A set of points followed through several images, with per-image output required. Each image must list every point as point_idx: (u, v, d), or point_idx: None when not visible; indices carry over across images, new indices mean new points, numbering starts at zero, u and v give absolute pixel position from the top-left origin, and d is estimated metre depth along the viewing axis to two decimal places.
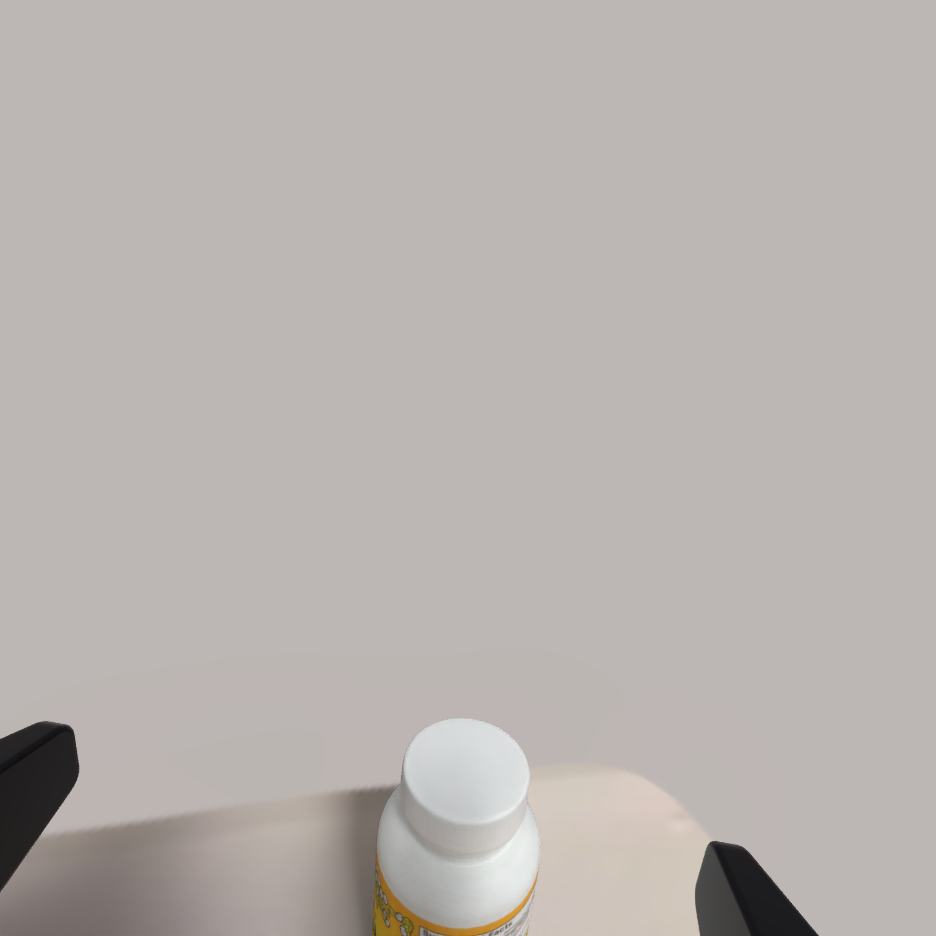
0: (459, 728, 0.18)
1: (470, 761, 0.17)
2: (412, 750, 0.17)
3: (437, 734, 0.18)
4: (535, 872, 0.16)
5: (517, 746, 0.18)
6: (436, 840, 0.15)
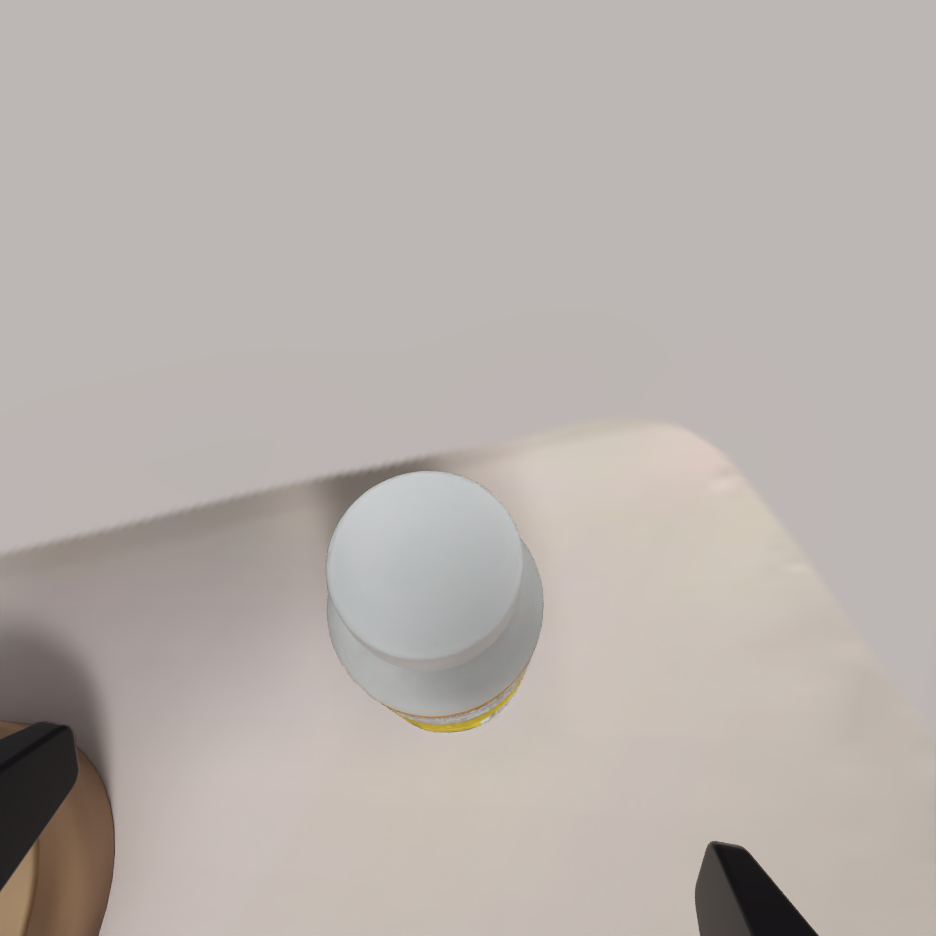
0: (414, 492, 0.11)
1: (430, 550, 0.11)
2: (339, 540, 0.11)
3: (379, 506, 0.11)
4: (534, 644, 0.12)
5: (506, 515, 0.11)
6: (386, 660, 0.11)
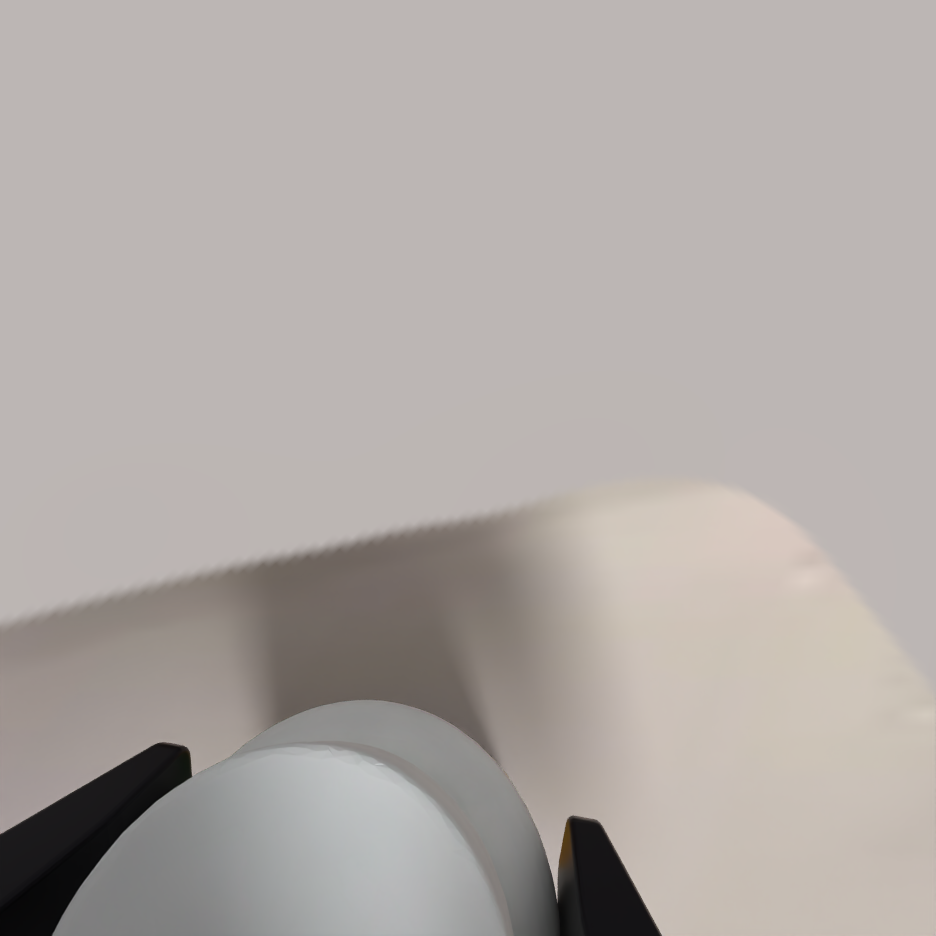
0: (263, 812, 0.05)
1: None
2: None
3: (174, 859, 0.05)
4: None
5: (478, 889, 0.05)
6: None
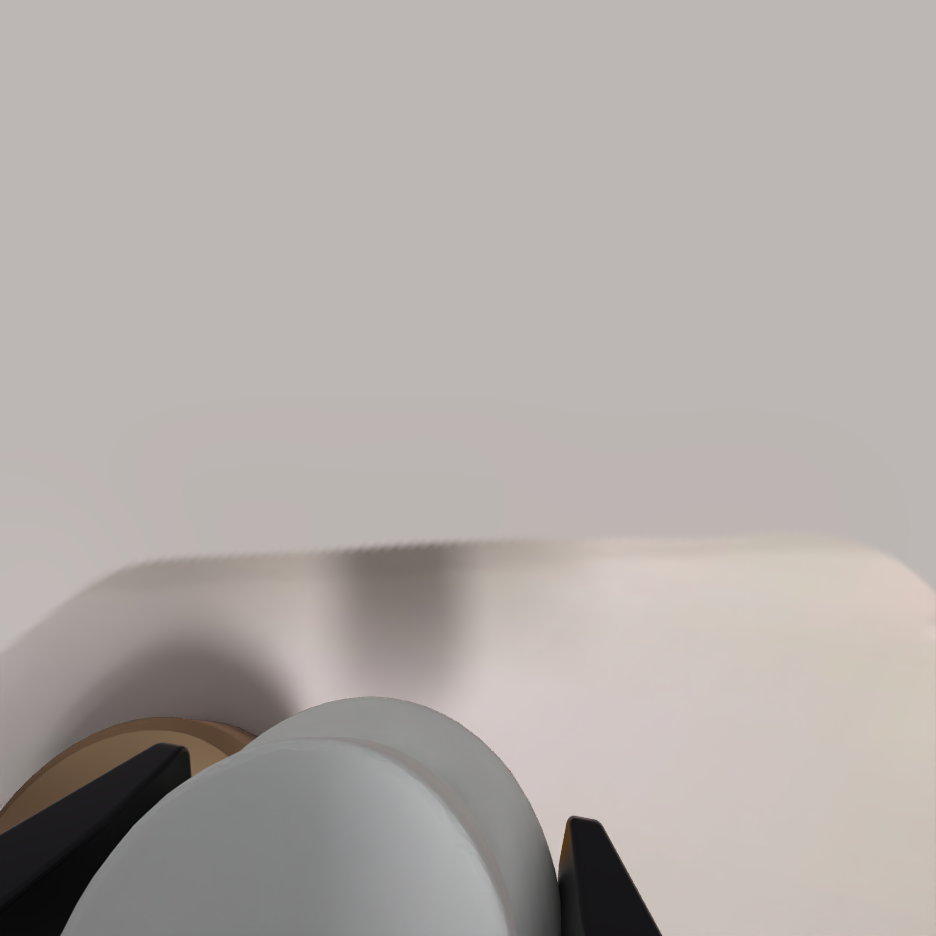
0: (270, 805, 0.05)
1: None
2: None
3: (184, 851, 0.05)
4: None
5: (480, 882, 0.05)
6: None
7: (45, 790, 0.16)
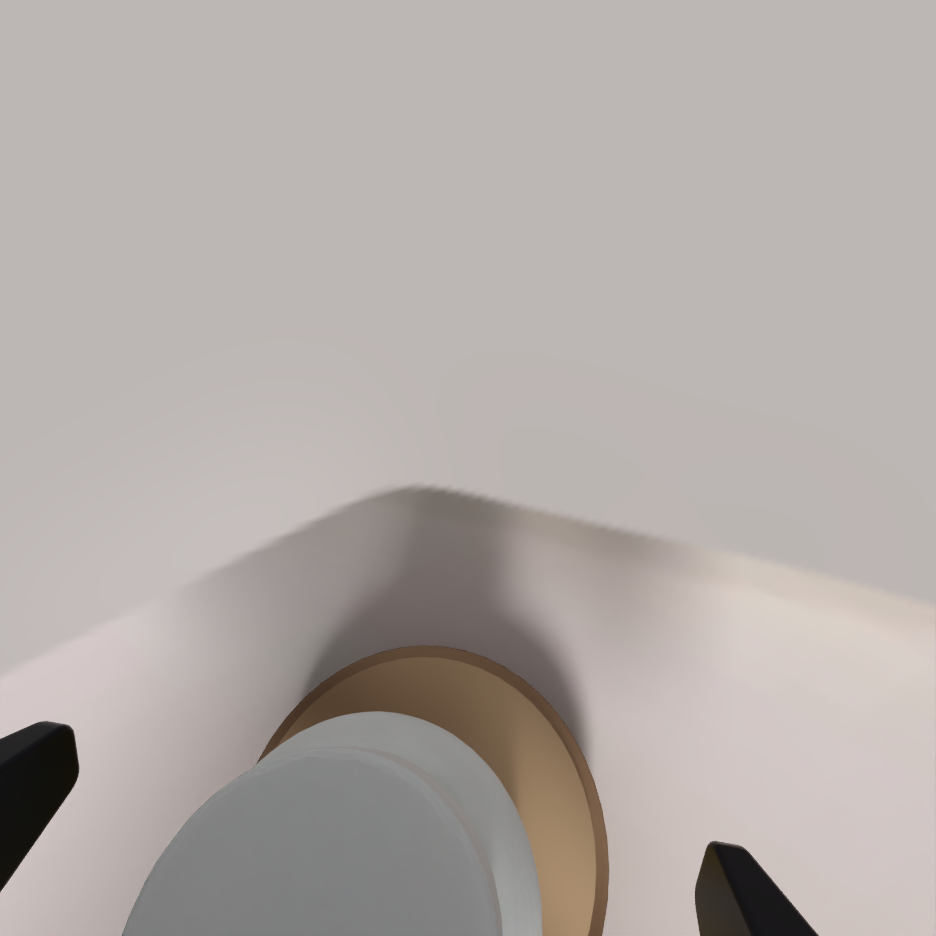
0: (300, 802, 0.06)
1: None
2: (142, 924, 0.06)
3: (231, 837, 0.06)
4: None
5: (470, 863, 0.06)
6: None
7: (359, 689, 0.16)
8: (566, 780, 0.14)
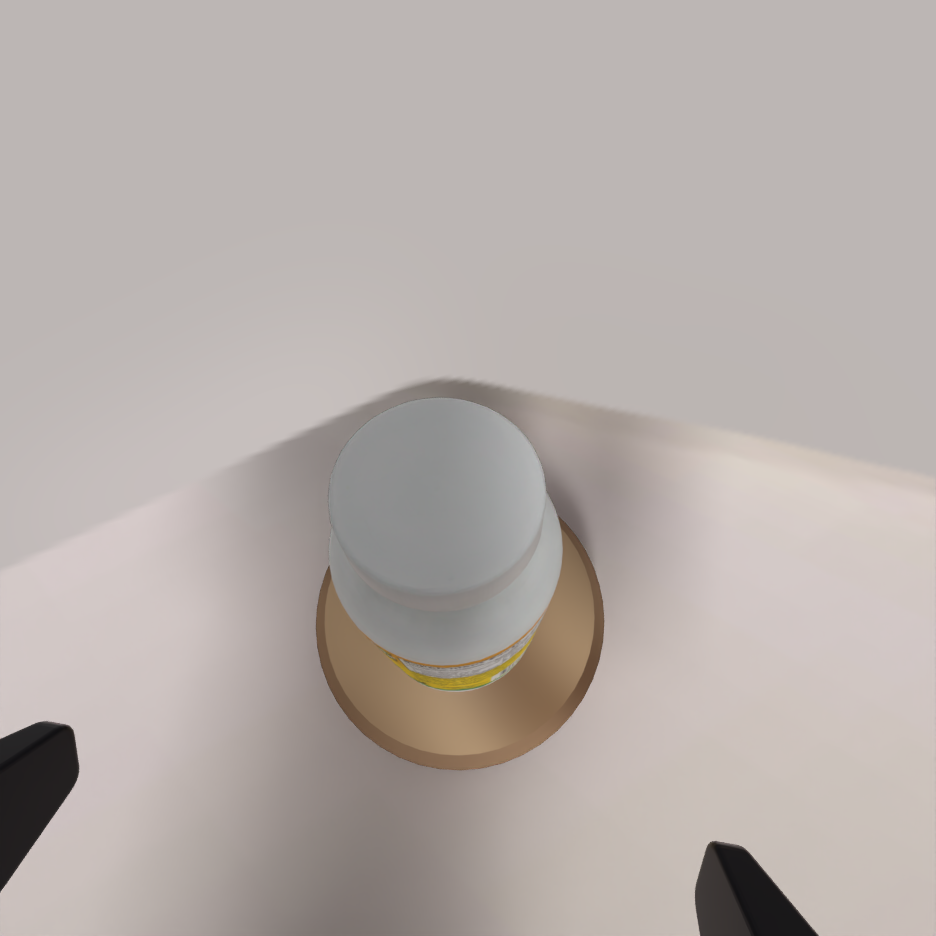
0: (425, 419, 0.10)
1: (443, 480, 0.10)
2: (342, 469, 0.10)
3: (386, 434, 0.10)
4: (554, 589, 0.12)
5: (526, 444, 0.10)
6: (395, 600, 0.10)
7: None
8: (572, 562, 0.19)
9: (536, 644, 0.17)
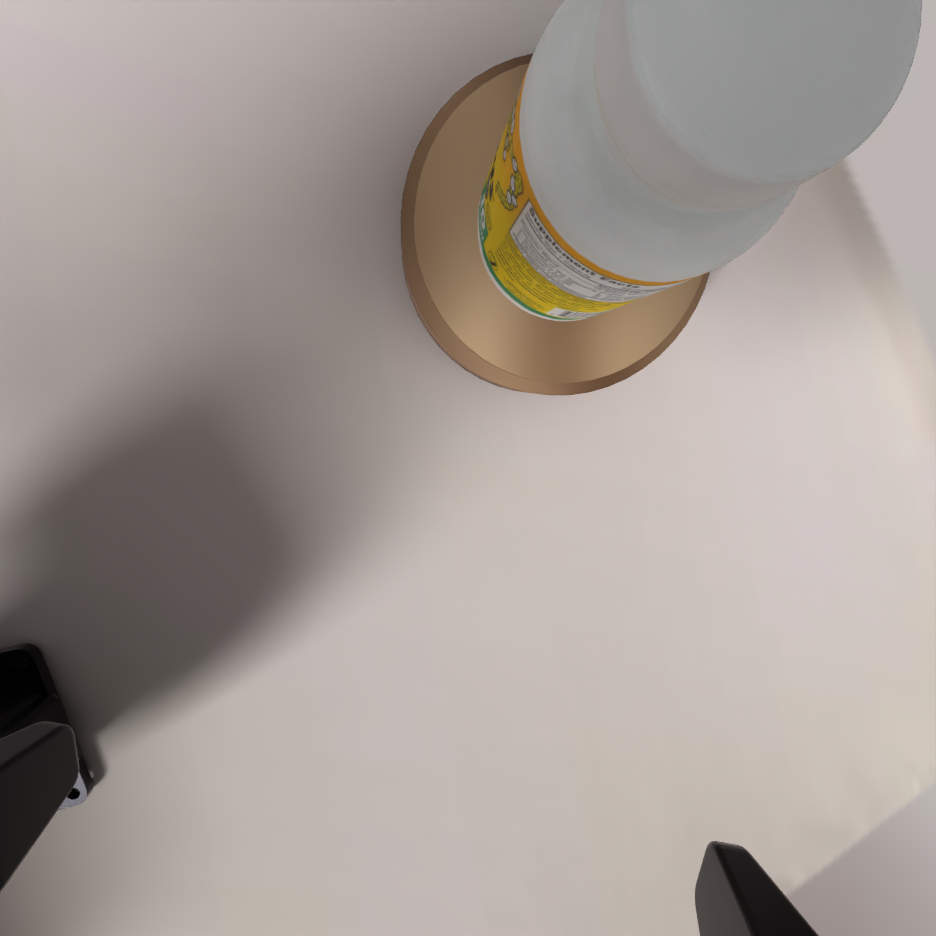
0: None
1: (793, 10, 0.07)
2: None
3: None
4: (717, 266, 0.10)
5: (908, 59, 0.07)
6: (612, 115, 0.07)
7: None
8: (686, 286, 0.17)
9: (595, 322, 0.17)
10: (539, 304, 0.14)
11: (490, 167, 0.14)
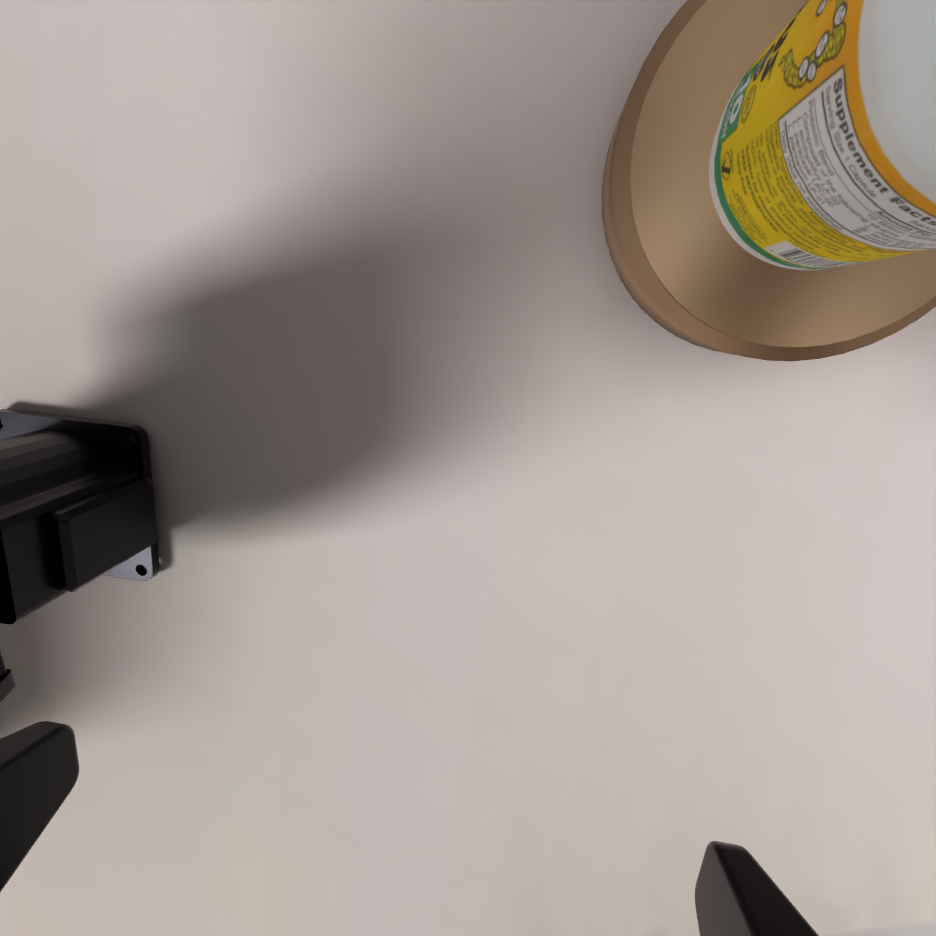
0: None
1: None
2: None
3: None
4: None
5: None
6: None
7: None
8: None
9: (811, 280, 0.14)
10: (764, 233, 0.12)
11: (771, 43, 0.11)
